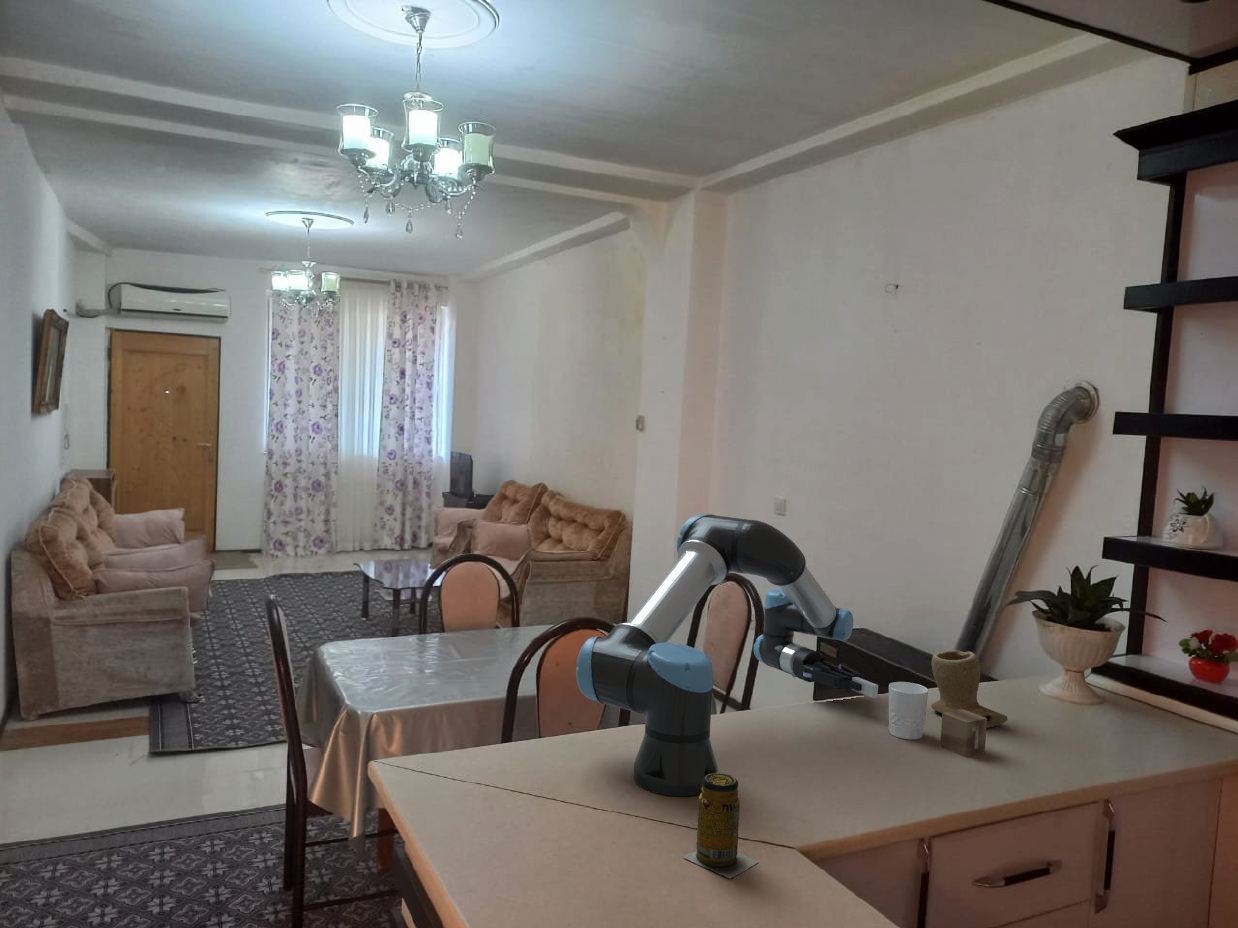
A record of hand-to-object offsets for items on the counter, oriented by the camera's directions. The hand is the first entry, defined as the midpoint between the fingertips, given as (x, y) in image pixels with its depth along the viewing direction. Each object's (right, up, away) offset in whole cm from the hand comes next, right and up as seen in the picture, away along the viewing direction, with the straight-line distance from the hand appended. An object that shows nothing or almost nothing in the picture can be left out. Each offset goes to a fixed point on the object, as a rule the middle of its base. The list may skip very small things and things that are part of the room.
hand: (875, 691), depth 195 cm
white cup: (+4, -7, -8) cm, 11 cm away
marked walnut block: (+13, -8, -15) cm, 22 cm away
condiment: (-41, -9, -64) cm, 77 cm away
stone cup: (+20, -7, +3) cm, 22 cm away
